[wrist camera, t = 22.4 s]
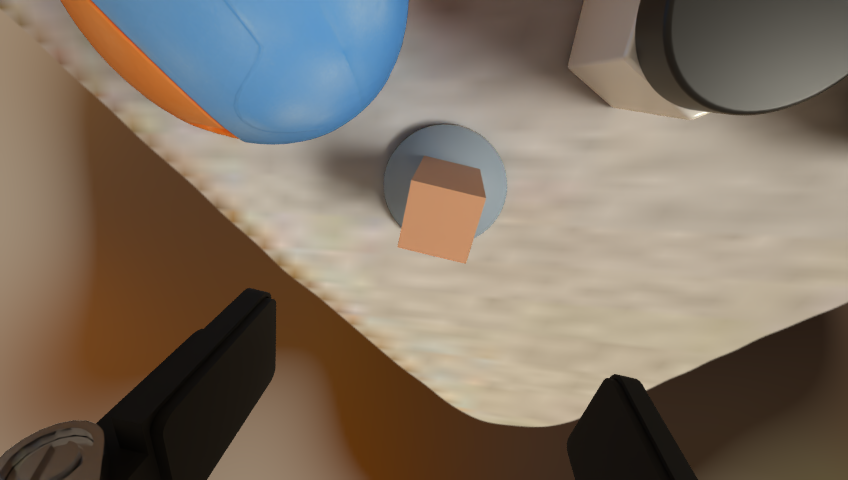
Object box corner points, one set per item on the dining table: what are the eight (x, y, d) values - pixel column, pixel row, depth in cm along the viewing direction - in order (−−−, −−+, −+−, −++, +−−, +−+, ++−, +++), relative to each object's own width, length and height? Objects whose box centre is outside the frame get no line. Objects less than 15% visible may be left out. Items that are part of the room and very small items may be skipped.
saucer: (522, 139, 26) (524, 141, 25) (486, 252, 30) (486, 256, 30) (396, 110, 26) (394, 111, 25) (377, 227, 30) (375, 230, 30)
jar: (736, 21, 22) (1008, -40, 11) (632, 128, 25) (762, 163, 14) (638, -80, 20) (841, -266, 9) (541, 48, 23) (608, 18, 13)
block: (480, 169, 27) (486, 198, 20) (464, 220, 28) (465, 263, 22) (424, 155, 27) (411, 180, 20) (412, 208, 28) (397, 247, 22)
